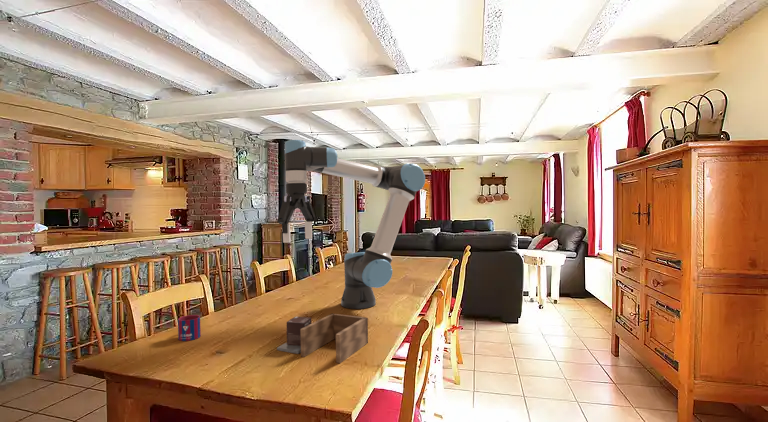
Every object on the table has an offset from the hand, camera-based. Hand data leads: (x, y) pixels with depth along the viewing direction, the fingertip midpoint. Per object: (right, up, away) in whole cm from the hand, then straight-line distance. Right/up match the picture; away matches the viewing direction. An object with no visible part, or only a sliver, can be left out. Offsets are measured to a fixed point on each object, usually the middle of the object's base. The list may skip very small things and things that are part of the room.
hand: (298, 240), depth 141 cm
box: (+5, -31, -21) cm, 37 cm away
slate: (+5, -31, -21) cm, 38 cm away
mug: (-34, -32, -10) cm, 48 cm away
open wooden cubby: (+17, -31, -24) cm, 43 cm away
